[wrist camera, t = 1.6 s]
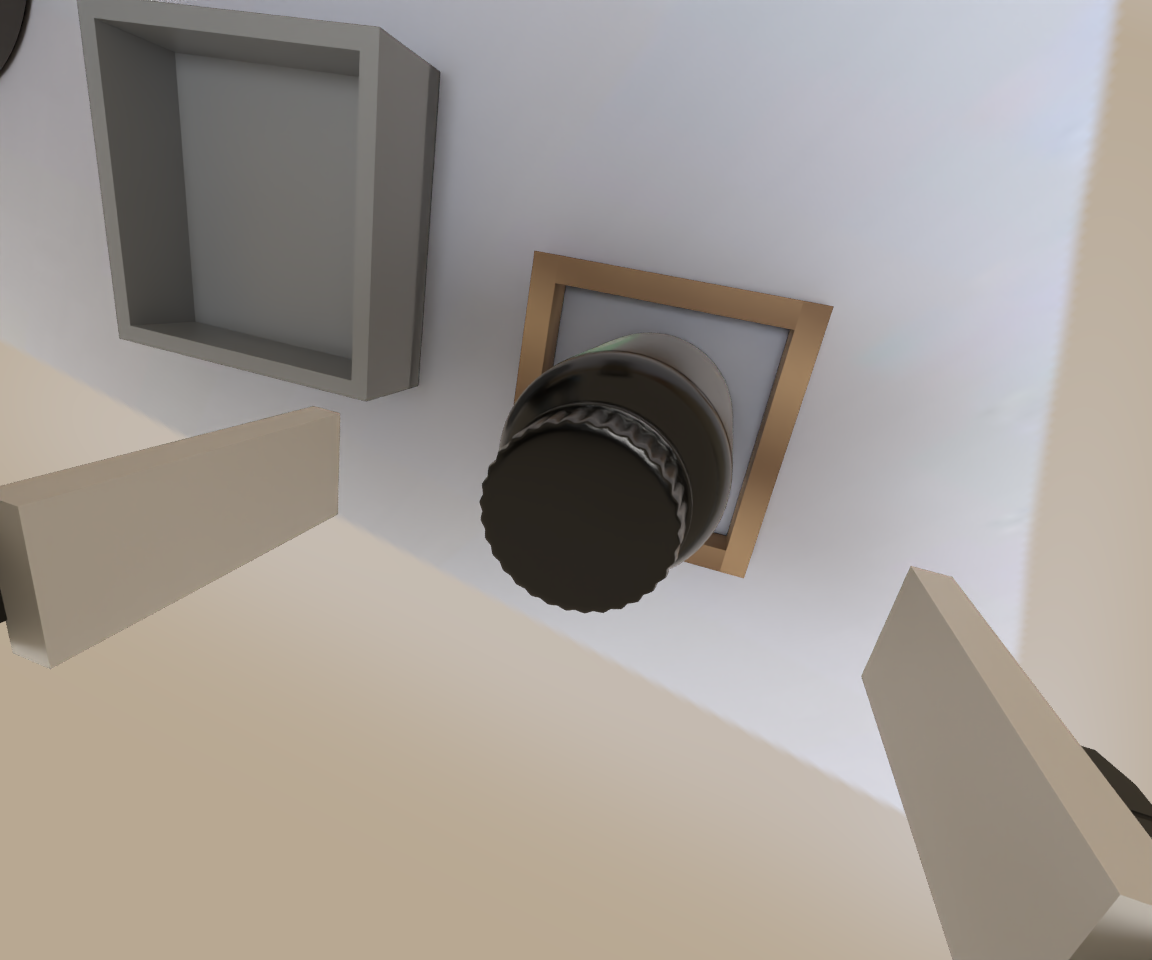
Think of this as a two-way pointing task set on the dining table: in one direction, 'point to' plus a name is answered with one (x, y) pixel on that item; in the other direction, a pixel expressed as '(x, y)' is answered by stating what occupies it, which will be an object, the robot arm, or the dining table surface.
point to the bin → (264, 189)
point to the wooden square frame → (709, 298)
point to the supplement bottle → (610, 472)
